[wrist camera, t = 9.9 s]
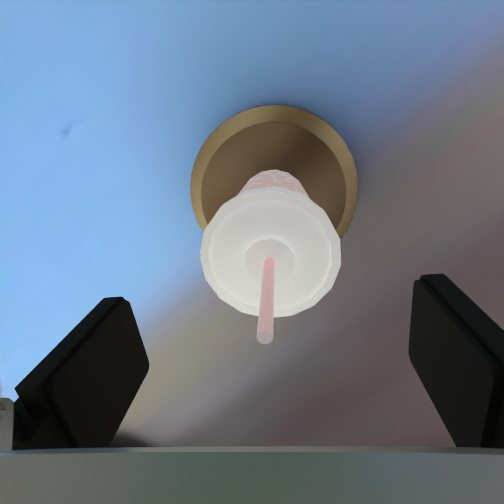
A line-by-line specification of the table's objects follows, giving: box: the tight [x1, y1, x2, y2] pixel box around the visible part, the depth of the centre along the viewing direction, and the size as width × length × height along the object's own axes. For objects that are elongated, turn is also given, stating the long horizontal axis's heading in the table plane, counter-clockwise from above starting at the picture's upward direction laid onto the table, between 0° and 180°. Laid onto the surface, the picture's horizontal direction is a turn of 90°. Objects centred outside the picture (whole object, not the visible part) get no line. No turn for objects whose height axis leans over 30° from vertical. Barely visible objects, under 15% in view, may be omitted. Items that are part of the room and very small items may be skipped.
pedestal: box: [190, 105, 358, 238], centre depth 23 cm, size 12×12×4 cm
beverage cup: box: [200, 170, 341, 344], centre depth 15 cm, size 6×6×14 cm
